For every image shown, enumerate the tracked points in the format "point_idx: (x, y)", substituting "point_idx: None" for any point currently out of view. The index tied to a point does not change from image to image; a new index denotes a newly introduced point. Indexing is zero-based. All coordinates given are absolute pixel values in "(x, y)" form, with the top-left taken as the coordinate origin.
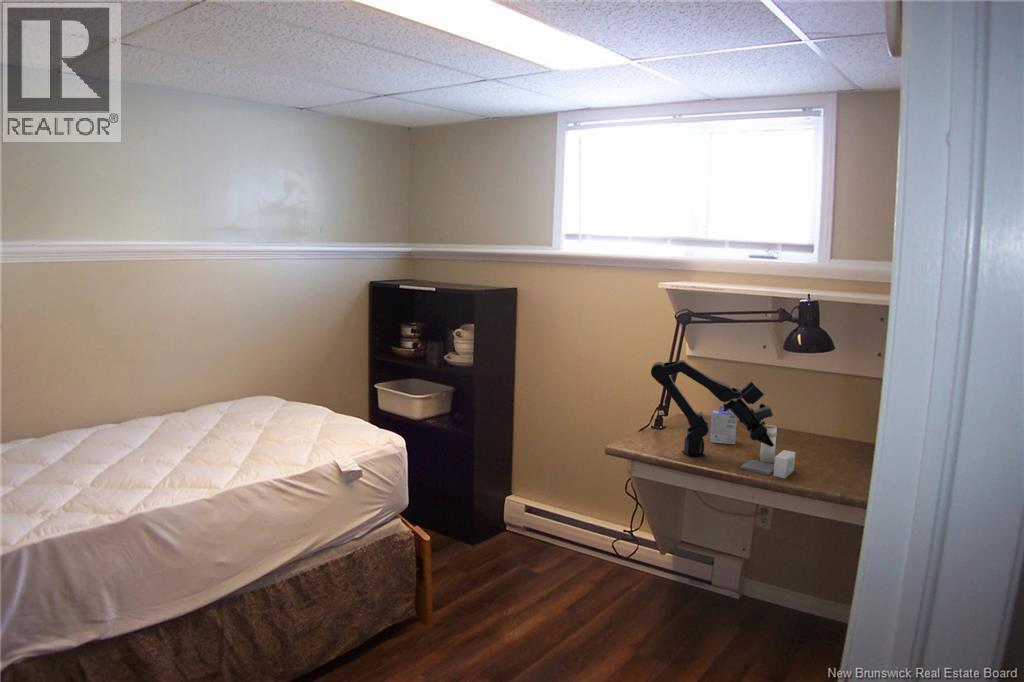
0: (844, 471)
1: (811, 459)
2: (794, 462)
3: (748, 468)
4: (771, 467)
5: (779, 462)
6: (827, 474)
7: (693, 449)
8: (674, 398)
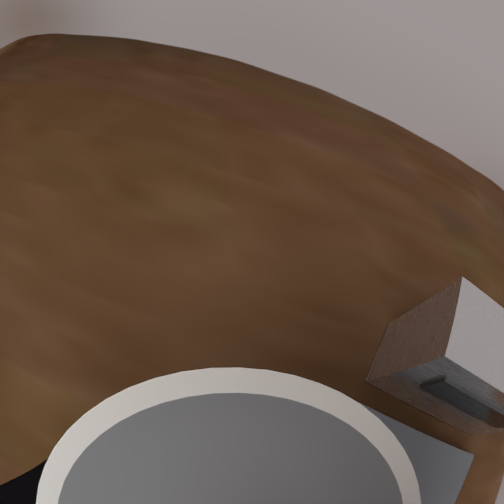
0: (312, 117)
1: (154, 167)
2: (419, 306)
3: None
4: (409, 447)
5: None
6: (376, 184)
7: None
8: None
